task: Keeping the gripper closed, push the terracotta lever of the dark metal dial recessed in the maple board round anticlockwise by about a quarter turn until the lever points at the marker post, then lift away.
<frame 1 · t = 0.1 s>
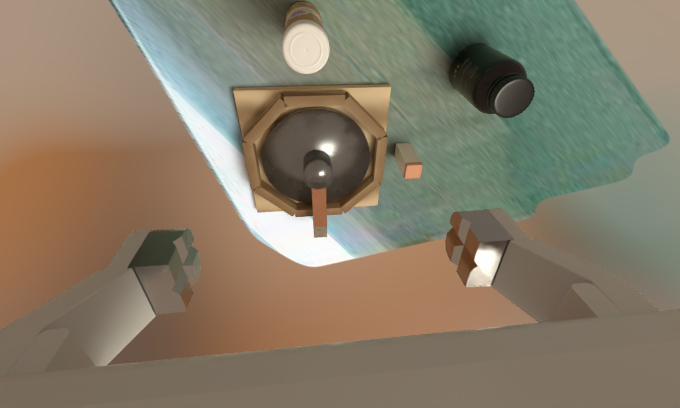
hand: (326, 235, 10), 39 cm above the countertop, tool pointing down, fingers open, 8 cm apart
dial housing: (316, 153, 53), on the countertop
sprinkles bottle: (303, 21, 41), on the countertop
dial: (317, 177, 51), point 4 cm above the countertop, hinge at 0.0°
supplement bottle: (470, 67, 47), on the countertop
marker post: (402, 149, 54), on the countertop
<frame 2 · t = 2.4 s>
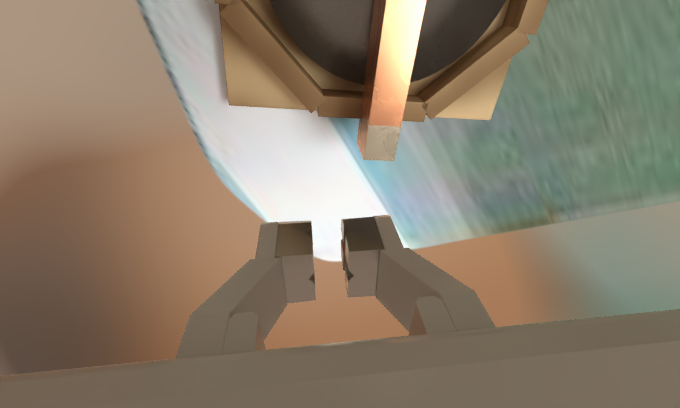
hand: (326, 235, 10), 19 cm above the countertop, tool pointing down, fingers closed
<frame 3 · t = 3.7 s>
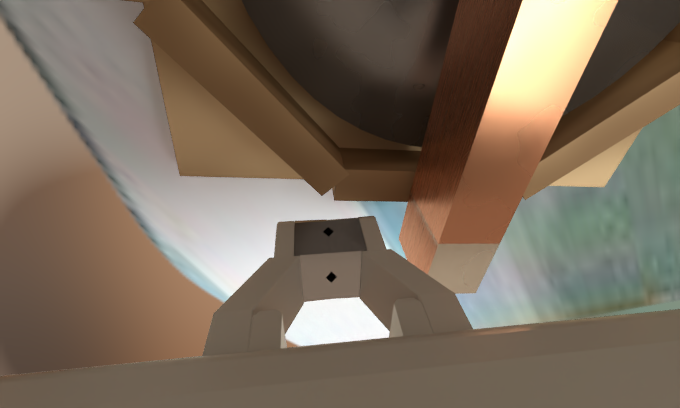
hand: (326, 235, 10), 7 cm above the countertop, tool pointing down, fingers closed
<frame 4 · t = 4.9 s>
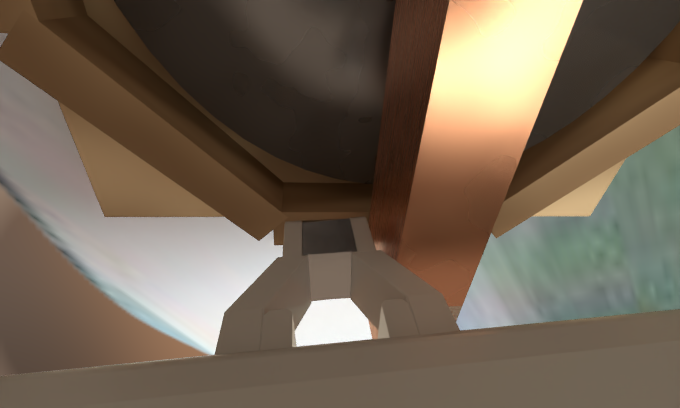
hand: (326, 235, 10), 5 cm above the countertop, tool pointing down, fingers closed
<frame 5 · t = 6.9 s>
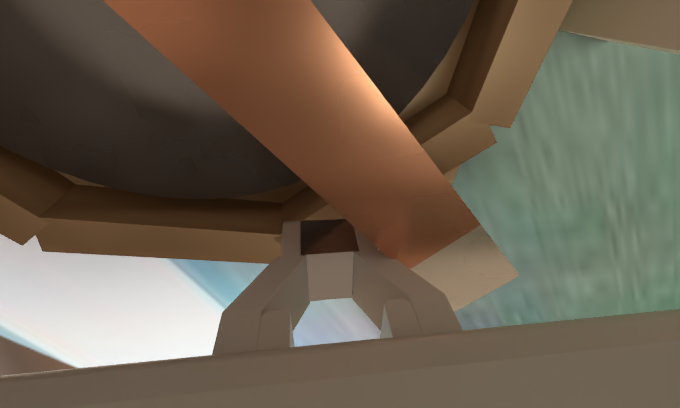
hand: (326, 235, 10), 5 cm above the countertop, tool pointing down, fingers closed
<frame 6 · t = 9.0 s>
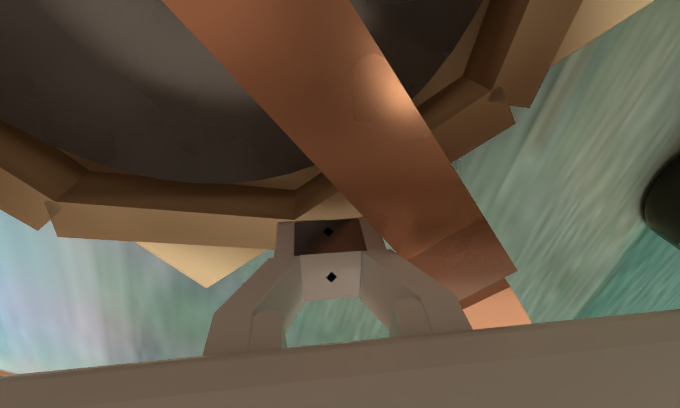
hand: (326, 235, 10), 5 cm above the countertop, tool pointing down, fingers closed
marker post: (421, 205, 16), on the countertop
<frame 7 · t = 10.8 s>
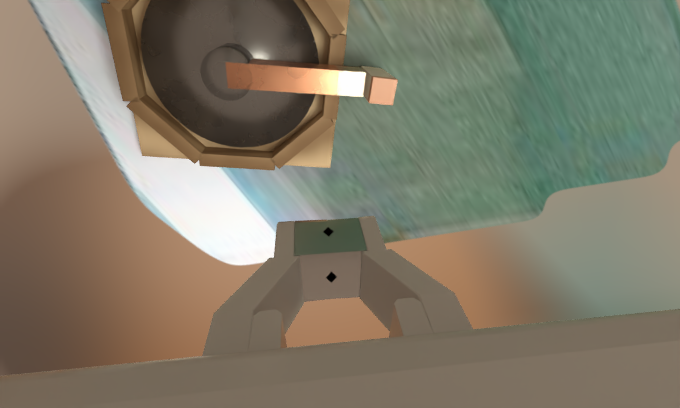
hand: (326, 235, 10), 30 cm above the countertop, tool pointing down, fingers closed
dial housing: (238, 63, 34), on the countertop
dial: (253, 71, 31), point 4 cm above the countertop, hinge at 92.1°
marker post: (369, 78, 37), on the countertop
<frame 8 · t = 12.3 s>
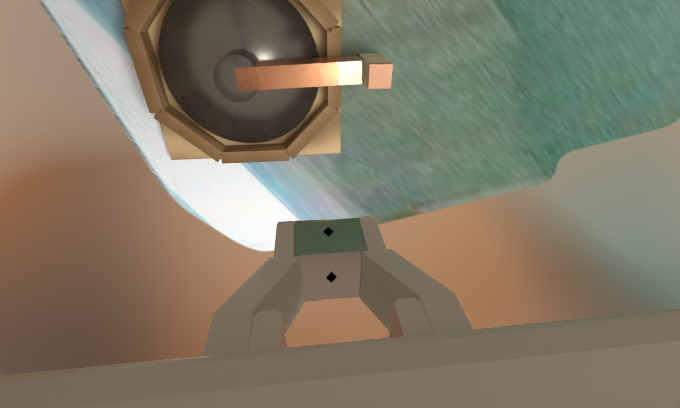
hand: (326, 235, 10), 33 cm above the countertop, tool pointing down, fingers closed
dial housing: (246, 65, 37), on the countertop
dial: (259, 72, 34), point 4 cm above the countertop, hinge at 92.1°
marker post: (368, 64, 39), on the countertop
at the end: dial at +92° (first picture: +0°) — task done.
